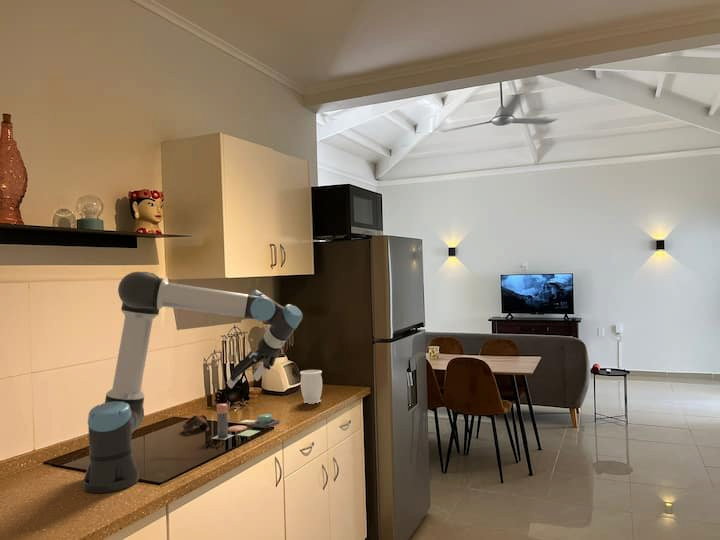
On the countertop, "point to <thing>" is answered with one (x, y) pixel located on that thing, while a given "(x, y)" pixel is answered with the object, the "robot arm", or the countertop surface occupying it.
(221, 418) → the marker
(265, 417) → the button
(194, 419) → the dark brown rock
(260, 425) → the colouring board
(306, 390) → the jar
